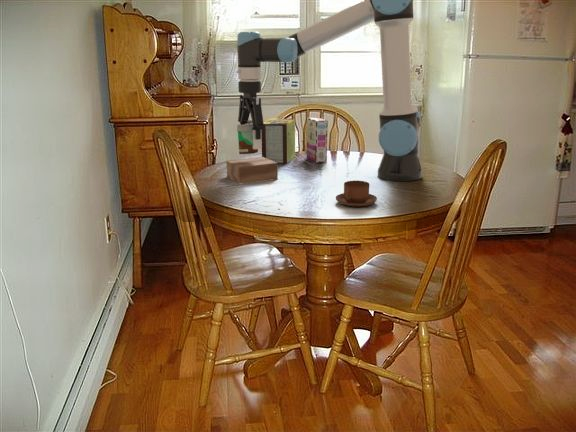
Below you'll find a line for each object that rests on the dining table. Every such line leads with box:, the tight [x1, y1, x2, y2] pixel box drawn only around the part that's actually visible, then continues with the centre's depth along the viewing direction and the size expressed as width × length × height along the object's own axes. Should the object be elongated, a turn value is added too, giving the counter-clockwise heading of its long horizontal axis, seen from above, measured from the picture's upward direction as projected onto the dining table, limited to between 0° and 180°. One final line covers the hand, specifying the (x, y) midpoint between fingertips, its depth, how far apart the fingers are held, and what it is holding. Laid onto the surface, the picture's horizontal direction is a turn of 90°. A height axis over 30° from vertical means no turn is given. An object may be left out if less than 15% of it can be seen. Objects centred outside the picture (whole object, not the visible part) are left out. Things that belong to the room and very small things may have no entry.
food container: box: [236, 119, 259, 155], centre depth 195 cm, size 12×6×10 cm, turn 166°
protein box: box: [261, 117, 296, 165], centre depth 228 cm, size 10×15×16 cm
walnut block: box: [226, 156, 279, 185], centre depth 199 cm, size 12×14×6 cm
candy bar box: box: [306, 117, 329, 164], centre depth 226 cm, size 11×5×16 cm, turn 17°
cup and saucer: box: [335, 180, 378, 208], centre depth 167 cm, size 12×12×6 cm
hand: (251, 146), depth 197 cm, fingers closed on food container, 11 cm apart
